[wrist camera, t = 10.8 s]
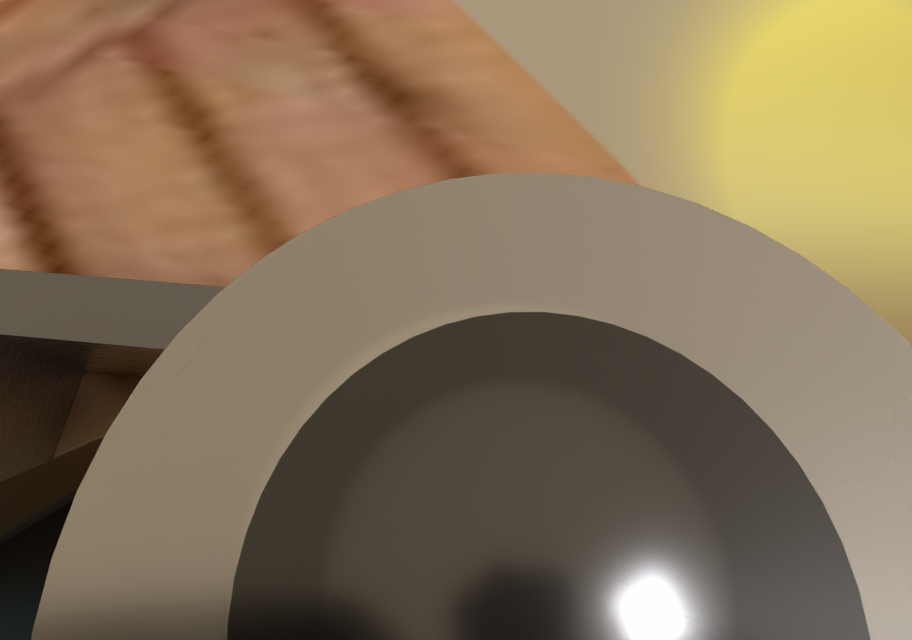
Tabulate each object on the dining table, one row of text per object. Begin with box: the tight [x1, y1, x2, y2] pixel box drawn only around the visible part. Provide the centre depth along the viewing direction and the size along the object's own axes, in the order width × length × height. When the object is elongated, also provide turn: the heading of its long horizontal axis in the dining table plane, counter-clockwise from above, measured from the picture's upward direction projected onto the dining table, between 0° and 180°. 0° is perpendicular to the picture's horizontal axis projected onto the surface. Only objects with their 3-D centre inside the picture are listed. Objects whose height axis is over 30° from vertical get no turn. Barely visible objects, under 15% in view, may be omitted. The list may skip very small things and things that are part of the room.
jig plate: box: [0, 269, 225, 481], centre depth 13 cm, size 22×10×4 cm, turn 84°
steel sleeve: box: [31, 173, 912, 640], centre depth 9 cm, size 5×5×13 cm
